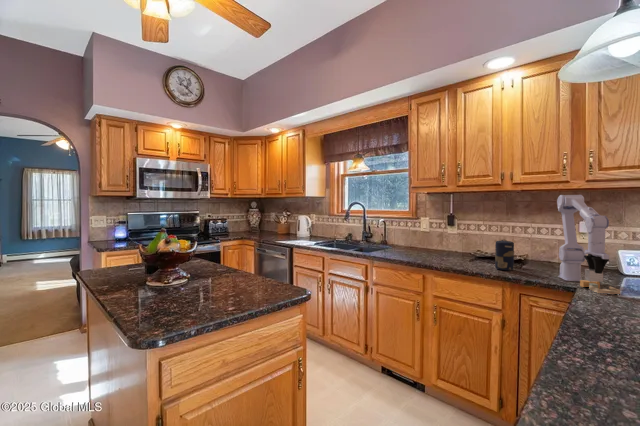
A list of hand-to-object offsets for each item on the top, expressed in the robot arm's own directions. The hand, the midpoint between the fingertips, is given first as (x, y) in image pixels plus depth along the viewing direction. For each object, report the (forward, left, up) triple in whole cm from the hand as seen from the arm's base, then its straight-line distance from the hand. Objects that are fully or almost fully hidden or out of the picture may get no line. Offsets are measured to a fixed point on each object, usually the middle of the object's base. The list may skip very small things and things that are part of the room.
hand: (595, 272), depth 140 cm
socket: (-6, 0, -9) cm, 10 cm away
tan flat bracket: (+2, +2, -9) cm, 9 cm away
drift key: (-6, 0, -9) cm, 10 cm away
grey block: (0, -1, -4) cm, 4 cm away
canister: (-39, -26, -9) cm, 47 cm away
